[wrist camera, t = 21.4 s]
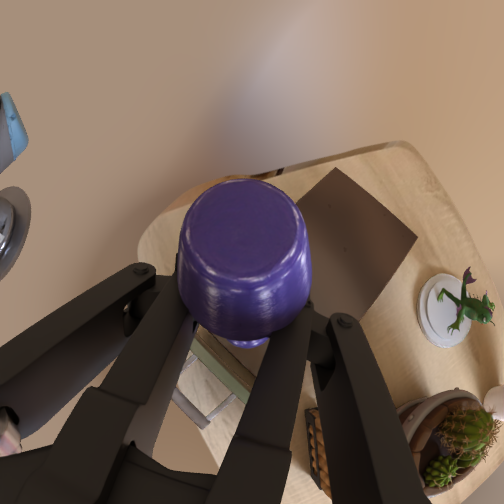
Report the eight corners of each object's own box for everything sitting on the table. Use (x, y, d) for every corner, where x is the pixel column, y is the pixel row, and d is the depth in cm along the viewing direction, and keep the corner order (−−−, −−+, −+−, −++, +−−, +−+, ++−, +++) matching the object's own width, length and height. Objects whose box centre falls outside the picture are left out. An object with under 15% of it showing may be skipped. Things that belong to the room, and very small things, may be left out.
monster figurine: (429, 359, 35) (472, 353, 25) (407, 287, 39) (445, 264, 29) (476, 330, 36) (517, 318, 26) (455, 266, 40) (492, 243, 31)
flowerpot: (447, 453, 28) (534, 473, 10) (363, 491, 27) (435, 552, 9) (441, 374, 34) (540, 362, 15) (355, 407, 33) (444, 432, 14)
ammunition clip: (324, 474, 29) (353, 511, 18) (311, 477, 29) (335, 515, 18) (318, 406, 33) (349, 423, 22) (304, 409, 33) (329, 428, 21)
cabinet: (317, 350, 36) (339, 344, 27) (242, 280, 39) (241, 253, 30) (386, 263, 40) (418, 236, 31) (319, 205, 44) (335, 166, 35)
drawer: (223, 436, 30) (217, 454, 23) (155, 366, 34) (132, 365, 26) (339, 318, 36) (361, 306, 29) (271, 256, 39) (277, 230, 32)
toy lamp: (287, 305, 23) (348, 169, 7) (271, 361, 21) (317, 350, 5) (229, 289, 23) (180, 135, 8) (211, 344, 21) (106, 285, 6)
